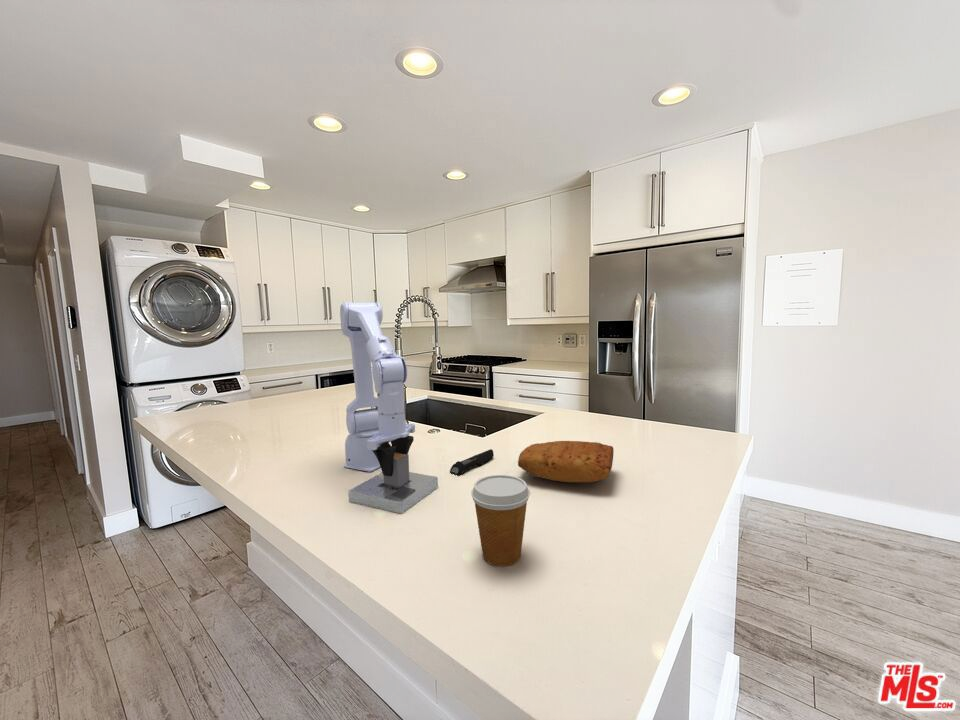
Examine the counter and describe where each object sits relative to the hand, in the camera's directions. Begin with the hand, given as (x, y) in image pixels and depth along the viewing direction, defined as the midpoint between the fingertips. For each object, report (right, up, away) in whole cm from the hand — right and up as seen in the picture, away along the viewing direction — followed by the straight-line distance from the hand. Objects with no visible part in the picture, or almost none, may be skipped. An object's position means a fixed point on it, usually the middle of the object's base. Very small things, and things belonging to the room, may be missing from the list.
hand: (394, 471), depth 89 cm
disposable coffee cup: (+23, -7, -24) cm, 34 cm away
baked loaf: (+40, -4, +8) cm, 41 cm away
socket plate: (0, -5, +1) cm, 5 cm away
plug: (+1, -2, 0) cm, 2 cm away
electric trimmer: (+17, -4, +17) cm, 24 cm away
